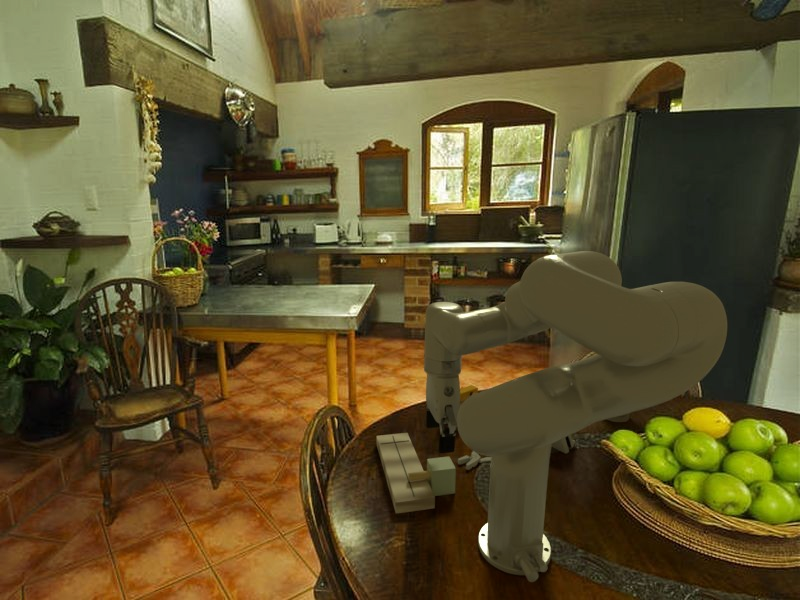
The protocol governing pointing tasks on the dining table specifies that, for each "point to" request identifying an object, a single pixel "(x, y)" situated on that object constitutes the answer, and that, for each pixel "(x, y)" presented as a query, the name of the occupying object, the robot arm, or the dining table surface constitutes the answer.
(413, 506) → the board
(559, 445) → the white black striped casing
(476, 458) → the pliers
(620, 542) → the dining table surface
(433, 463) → the green peg block
